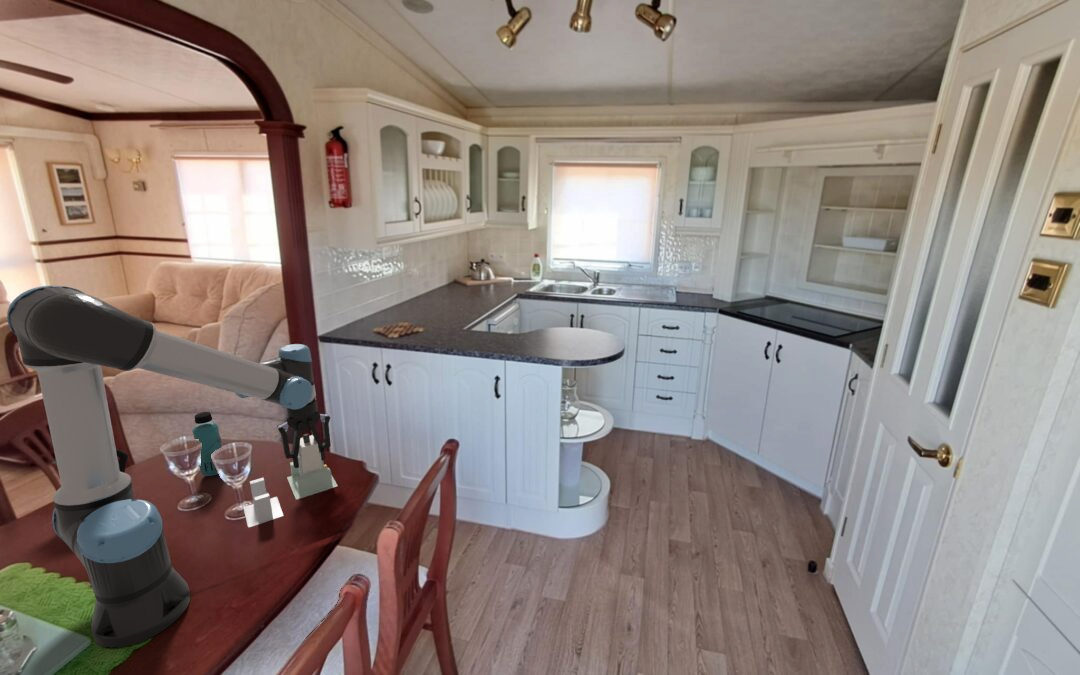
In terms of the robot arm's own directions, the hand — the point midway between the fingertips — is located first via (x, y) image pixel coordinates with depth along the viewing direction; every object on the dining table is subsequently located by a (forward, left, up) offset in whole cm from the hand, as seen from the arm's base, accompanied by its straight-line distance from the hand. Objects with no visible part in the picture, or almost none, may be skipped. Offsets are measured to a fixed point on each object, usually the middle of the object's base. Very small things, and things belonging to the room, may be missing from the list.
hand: (311, 473), depth 137 cm
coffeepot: (+22, +48, -4) cm, 52 cm away
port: (0, 0, -4) cm, 4 cm away
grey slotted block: (-7, +14, -4) cm, 16 cm away
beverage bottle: (+22, +23, -4) cm, 32 cm away
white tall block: (0, 0, -2) cm, 2 cm away
